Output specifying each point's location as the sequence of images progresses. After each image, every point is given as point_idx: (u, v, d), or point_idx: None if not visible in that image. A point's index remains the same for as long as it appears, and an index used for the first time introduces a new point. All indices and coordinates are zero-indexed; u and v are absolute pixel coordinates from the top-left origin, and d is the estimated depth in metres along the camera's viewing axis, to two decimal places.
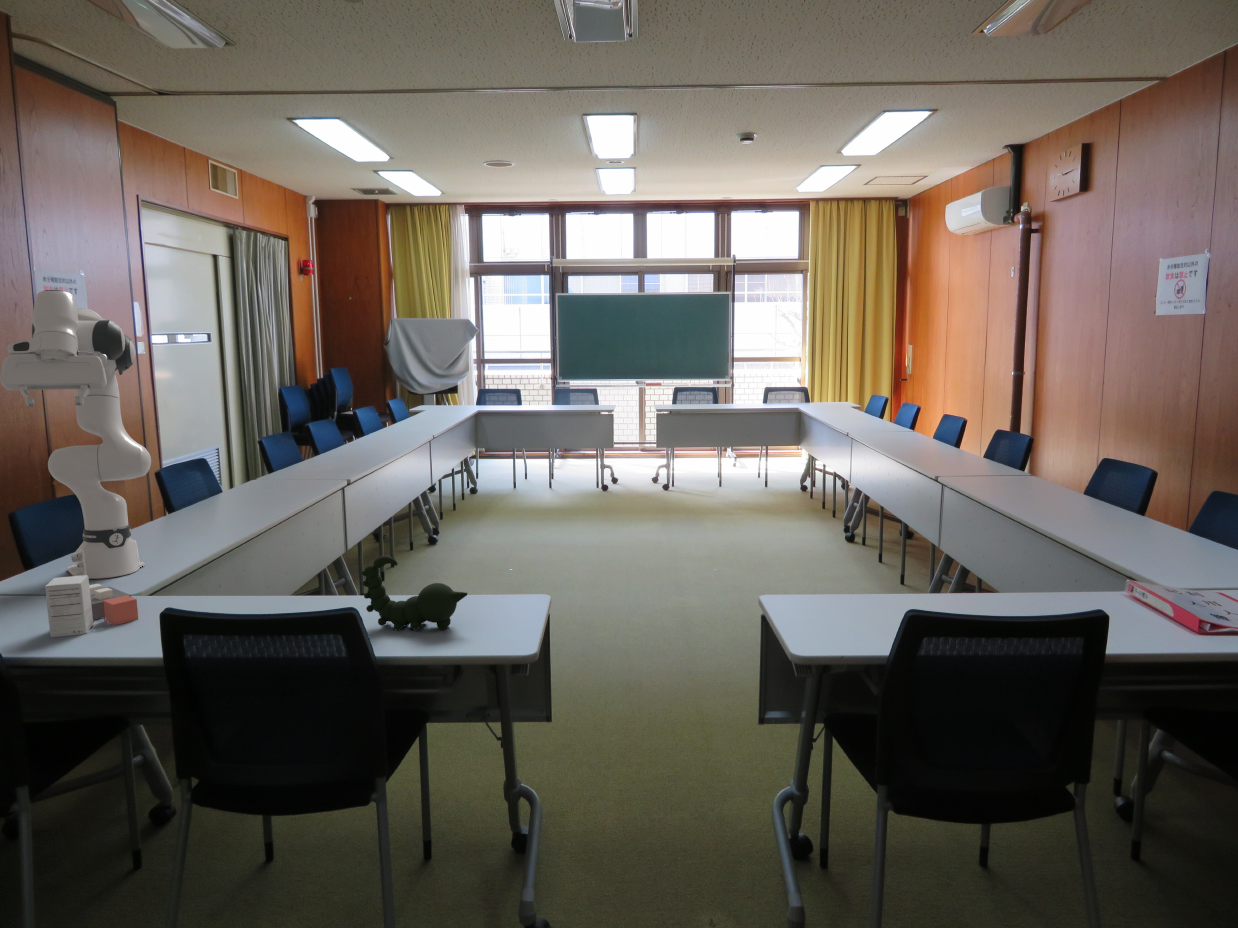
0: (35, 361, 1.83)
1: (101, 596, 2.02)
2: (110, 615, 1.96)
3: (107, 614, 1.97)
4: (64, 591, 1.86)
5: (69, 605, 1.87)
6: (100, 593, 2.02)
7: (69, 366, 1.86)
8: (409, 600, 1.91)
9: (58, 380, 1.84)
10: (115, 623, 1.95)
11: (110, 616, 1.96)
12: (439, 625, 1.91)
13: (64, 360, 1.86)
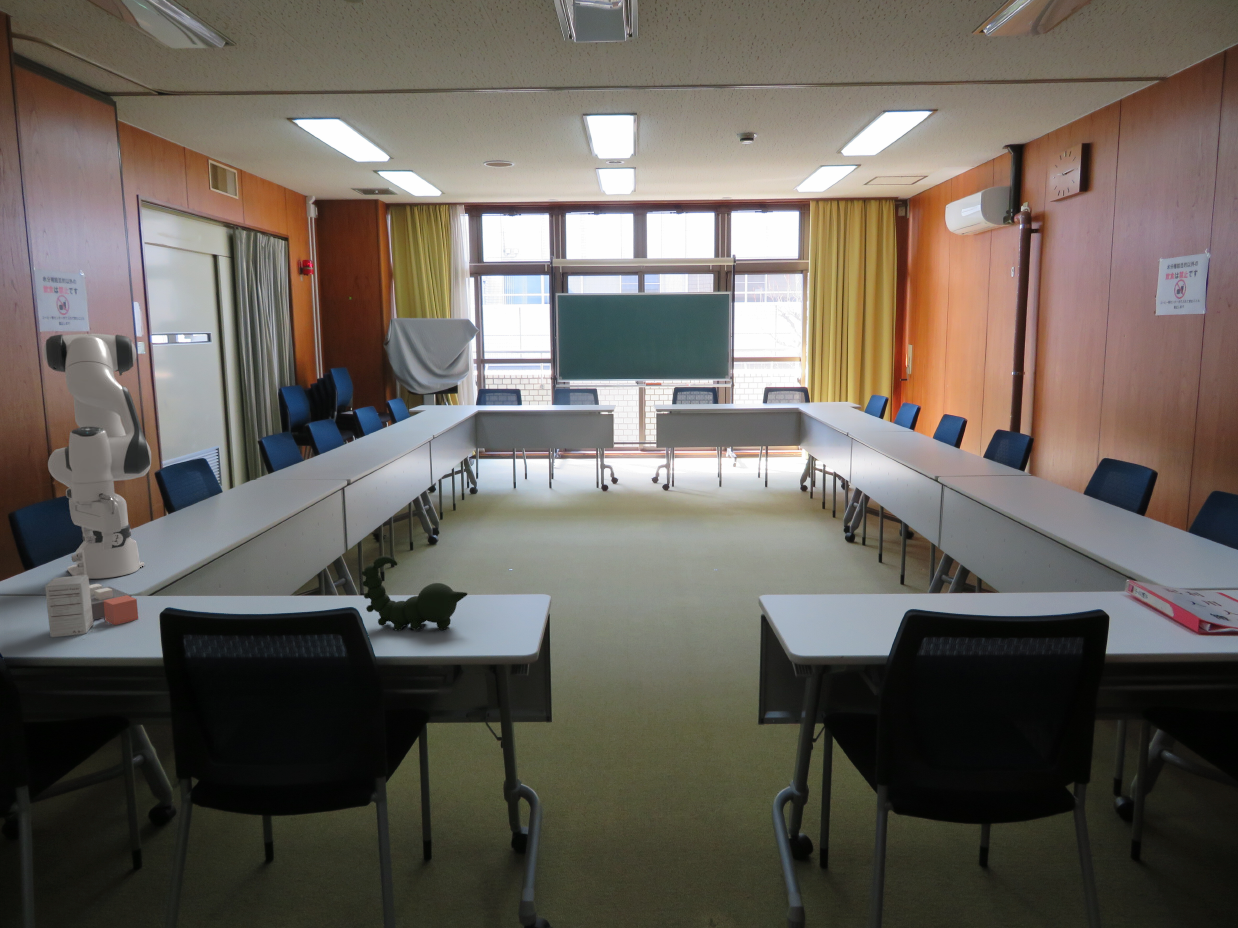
0: None
1: (101, 596, 2.02)
2: (110, 615, 1.96)
3: (107, 614, 1.97)
4: (64, 591, 1.86)
5: (69, 605, 1.87)
6: (100, 593, 2.02)
7: (93, 512, 1.97)
8: (409, 600, 1.91)
9: (90, 526, 1.99)
10: (115, 623, 1.95)
11: (110, 616, 1.96)
12: (439, 625, 1.91)
13: (89, 507, 1.97)
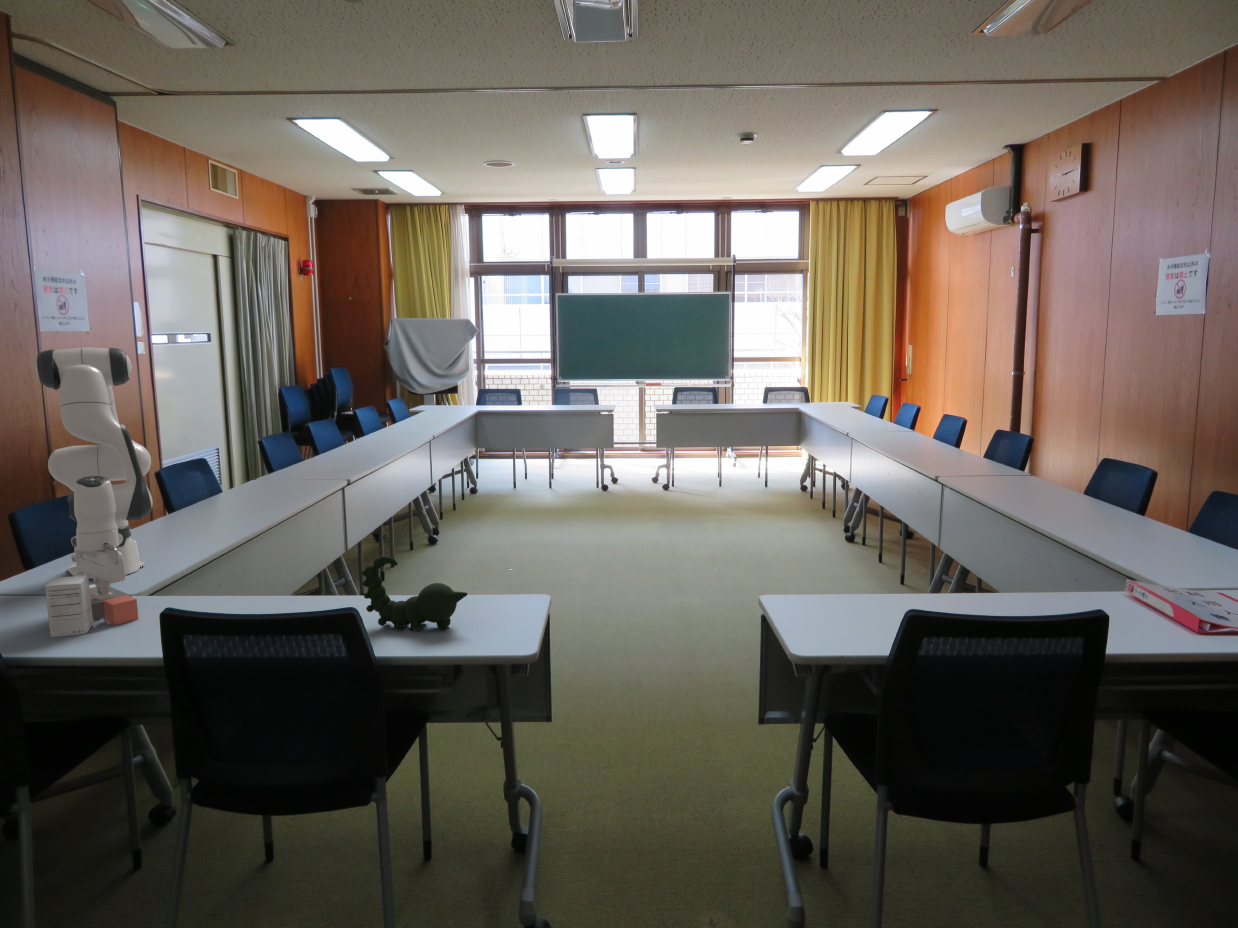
0: None
1: (101, 599, 2.02)
2: (110, 615, 1.96)
3: (107, 614, 1.97)
4: (64, 591, 1.86)
5: (69, 605, 1.87)
6: (100, 597, 2.02)
7: (98, 561, 1.99)
8: (409, 600, 1.91)
9: (95, 575, 2.01)
10: (115, 623, 1.95)
11: (110, 616, 1.96)
12: (439, 625, 1.91)
13: (94, 556, 1.99)
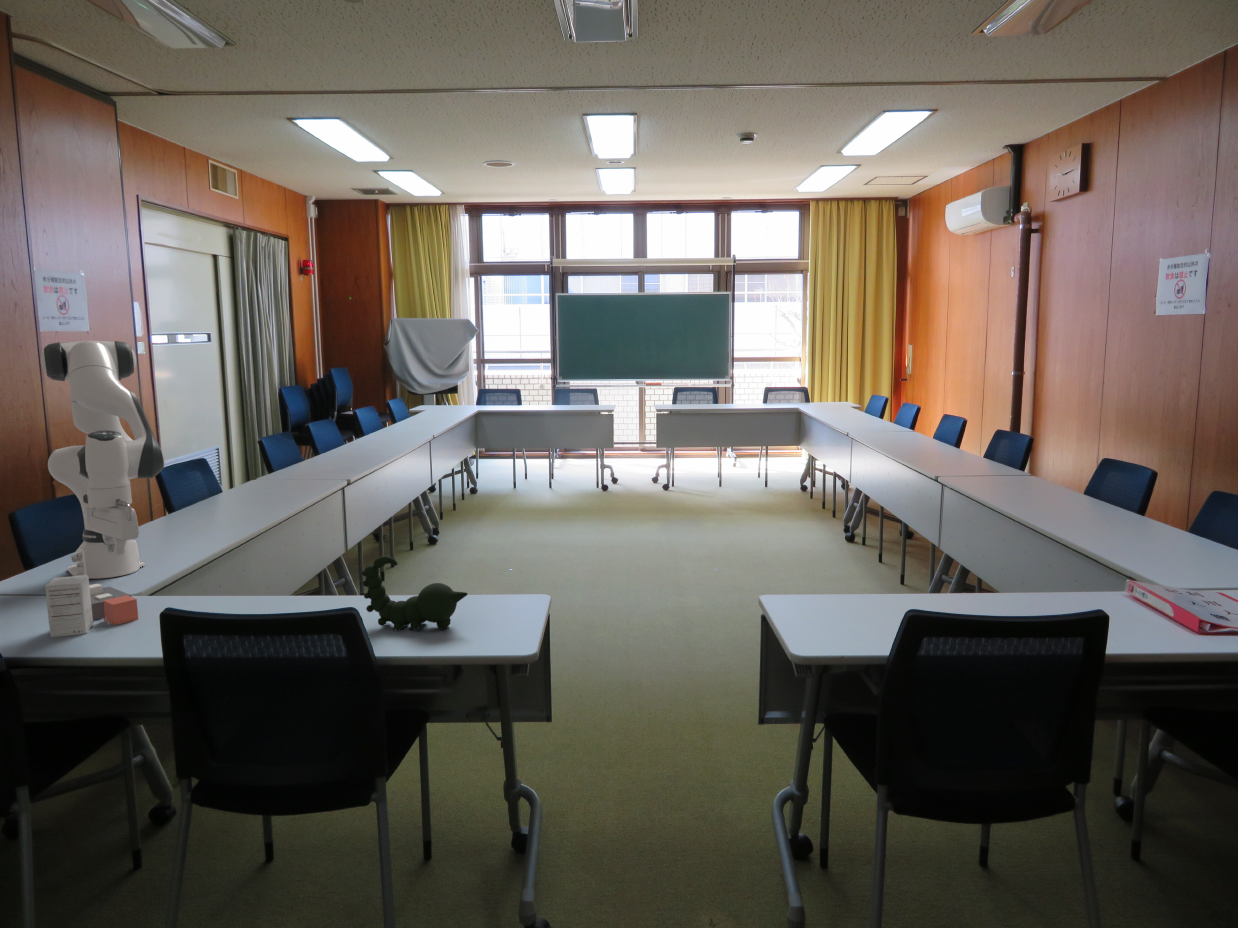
0: None
1: None
2: (110, 615, 1.96)
3: (107, 614, 1.97)
4: (64, 591, 1.86)
5: (69, 605, 1.87)
6: (101, 599, 2.02)
7: (110, 518, 1.92)
8: (409, 600, 1.91)
9: (107, 533, 1.94)
10: (115, 623, 1.95)
11: (110, 616, 1.96)
12: (439, 625, 1.91)
13: (106, 513, 1.92)
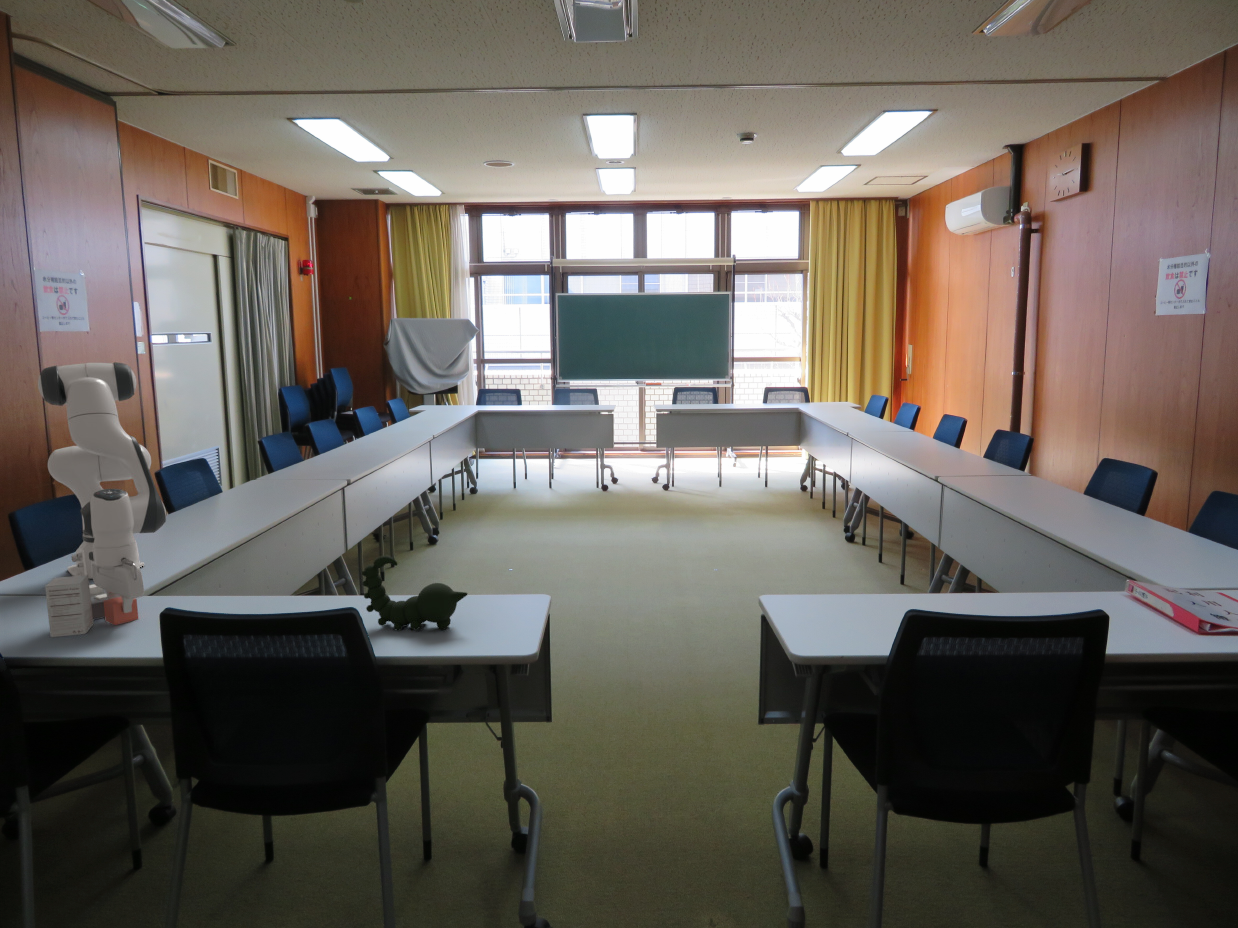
0: None
1: None
2: (110, 615, 1.96)
3: (107, 614, 1.97)
4: (64, 591, 1.86)
5: (69, 605, 1.87)
6: (101, 599, 2.02)
7: (116, 576, 1.94)
8: (409, 600, 1.91)
9: (112, 590, 1.96)
10: (115, 623, 1.95)
11: (110, 615, 1.96)
12: (439, 625, 1.91)
13: (112, 571, 1.94)
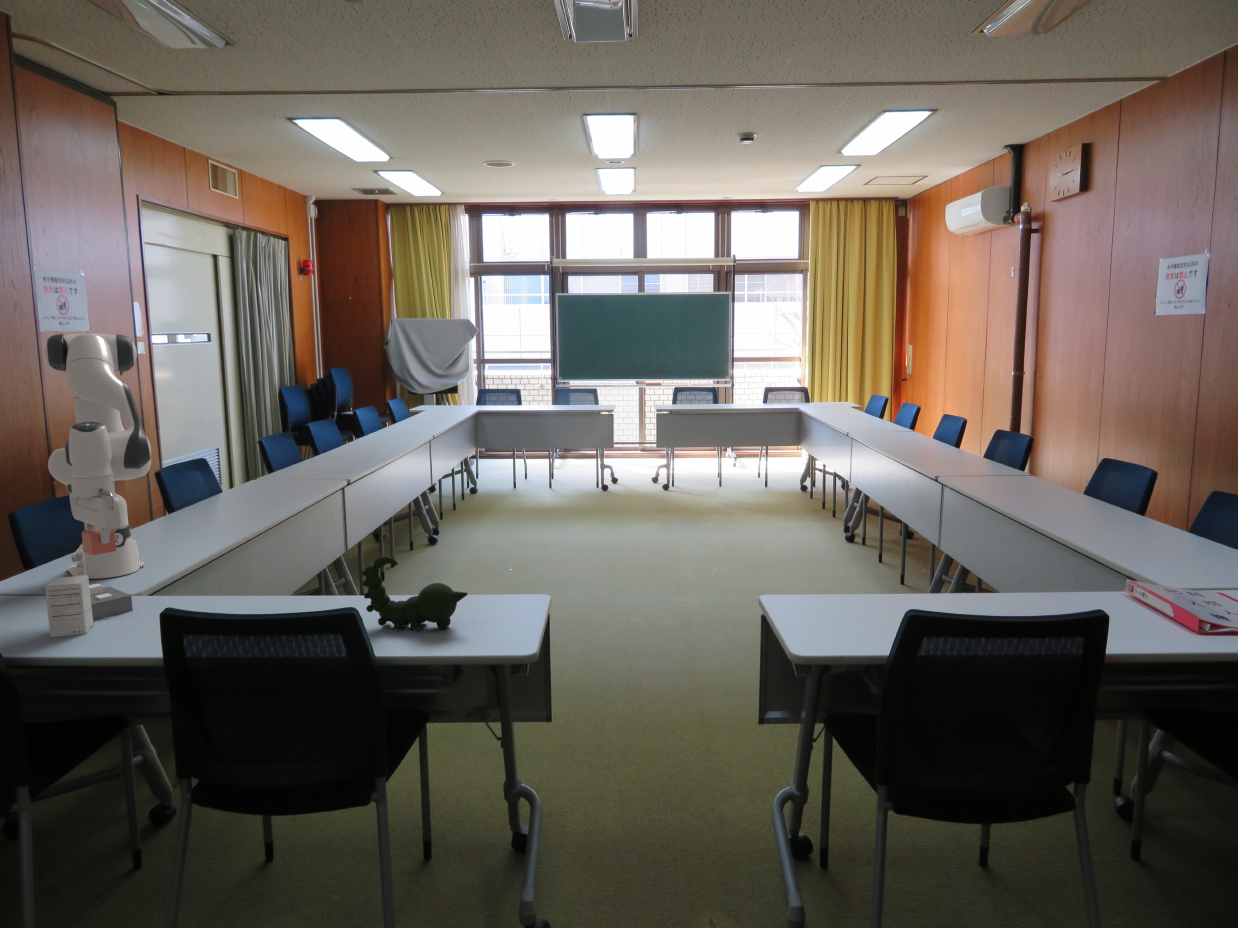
0: None
1: None
2: (88, 546, 1.99)
3: (85, 545, 2.00)
4: (64, 591, 1.86)
5: (69, 605, 1.87)
6: (101, 599, 2.02)
7: (93, 507, 1.97)
8: (409, 600, 1.91)
9: (90, 522, 1.99)
10: (93, 553, 1.99)
11: (88, 546, 1.99)
12: (439, 625, 1.91)
13: (89, 502, 1.97)
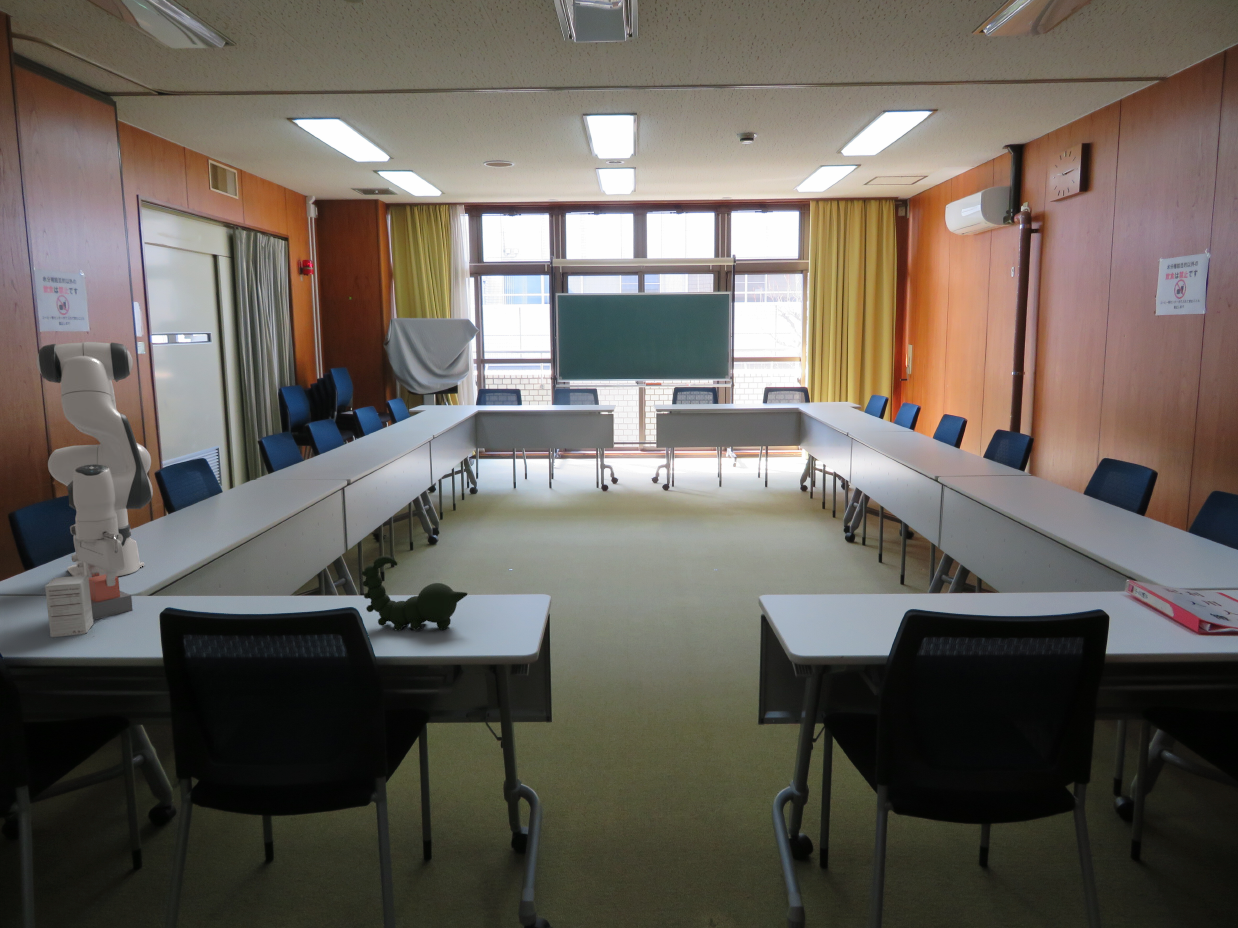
0: None
1: None
2: (92, 592, 2.01)
3: None
4: (64, 591, 1.86)
5: (69, 605, 1.87)
6: None
7: (97, 550, 1.99)
8: (409, 600, 1.91)
9: (94, 564, 2.01)
10: (97, 600, 2.00)
11: (92, 593, 2.01)
12: (439, 625, 1.91)
13: (93, 545, 1.99)
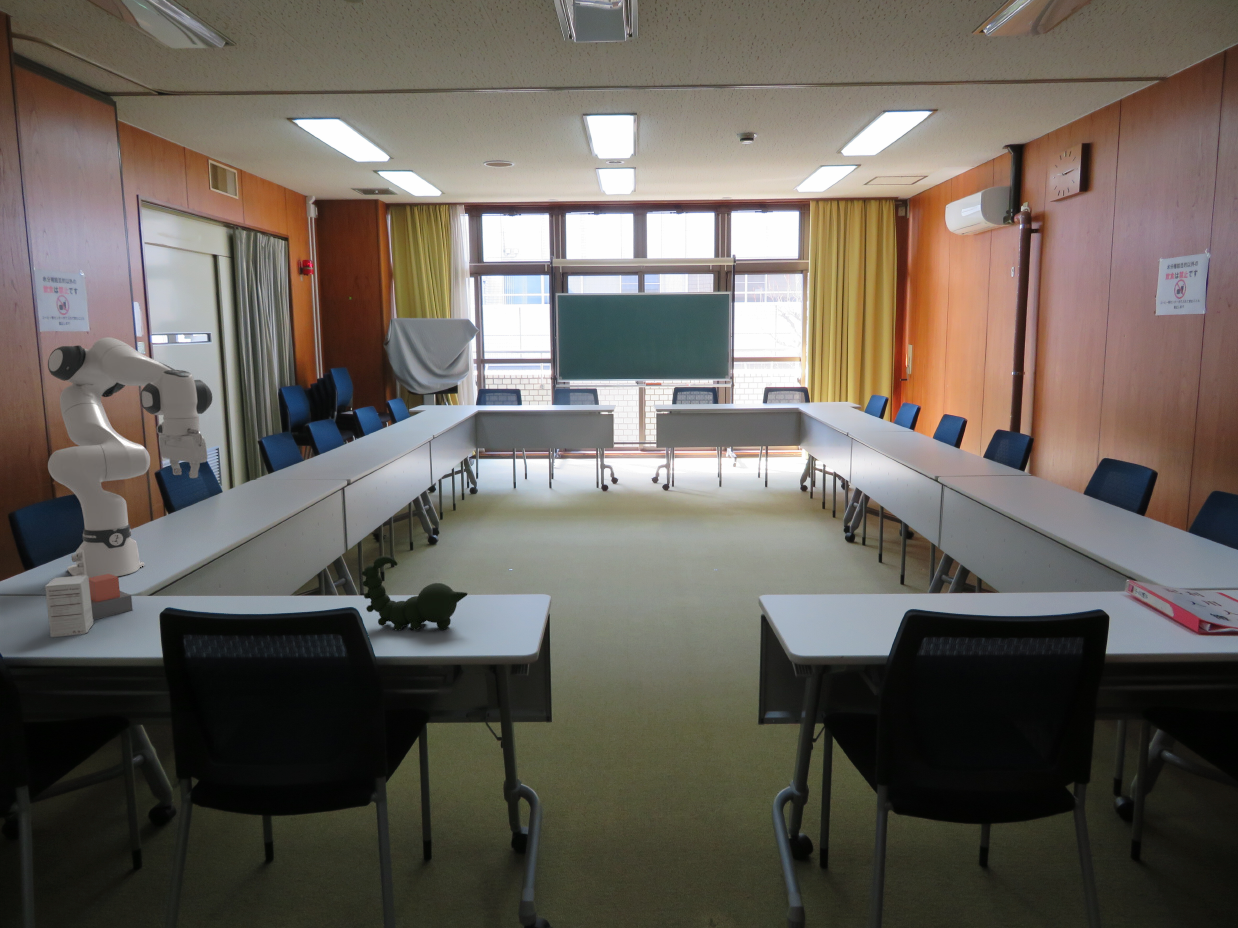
0: (170, 440, 2.26)
1: None
2: (92, 592, 2.01)
3: None
4: (64, 591, 1.86)
5: (69, 605, 1.87)
6: None
7: (182, 445, 2.23)
8: (409, 600, 1.91)
9: (179, 458, 2.24)
10: (97, 600, 2.00)
11: (92, 593, 2.01)
12: (439, 625, 1.91)
13: (179, 440, 2.23)
